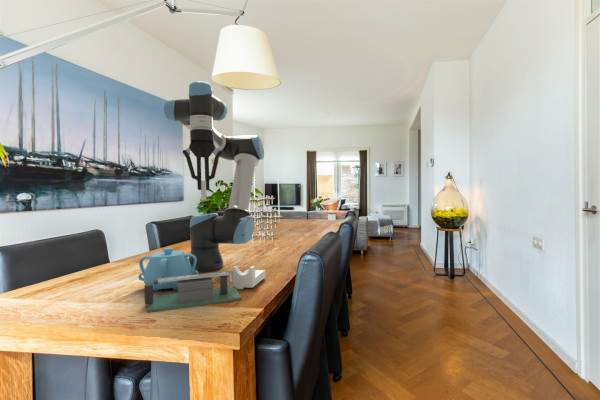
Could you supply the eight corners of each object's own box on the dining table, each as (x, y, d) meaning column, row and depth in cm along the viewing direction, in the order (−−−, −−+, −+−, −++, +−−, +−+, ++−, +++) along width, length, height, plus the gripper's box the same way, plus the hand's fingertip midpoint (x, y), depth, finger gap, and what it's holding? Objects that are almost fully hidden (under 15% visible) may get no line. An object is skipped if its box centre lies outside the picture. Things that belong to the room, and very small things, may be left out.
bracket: (252, 290, 109) (252, 268, 109) (233, 289, 111) (232, 267, 110) (265, 279, 122) (264, 259, 121) (247, 278, 123) (247, 258, 123)
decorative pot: (180, 277, 126) (178, 242, 125) (202, 285, 115) (201, 246, 115) (136, 287, 114) (134, 249, 113) (156, 297, 103) (154, 254, 103)
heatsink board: (147, 299, 101) (146, 279, 101) (234, 288, 110) (234, 270, 110) (143, 313, 90) (142, 290, 90) (241, 299, 99) (240, 279, 99)
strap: (154, 287, 98) (154, 277, 97) (230, 278, 105) (230, 269, 105) (153, 290, 95) (153, 280, 94) (232, 281, 102) (231, 272, 102)
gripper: (181, 127, 104) (183, 200, 105) (222, 129, 109) (224, 199, 110) (181, 131, 111) (183, 200, 112) (220, 132, 116) (221, 198, 117)
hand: (203, 199), depth 111 cm, fingers closed
